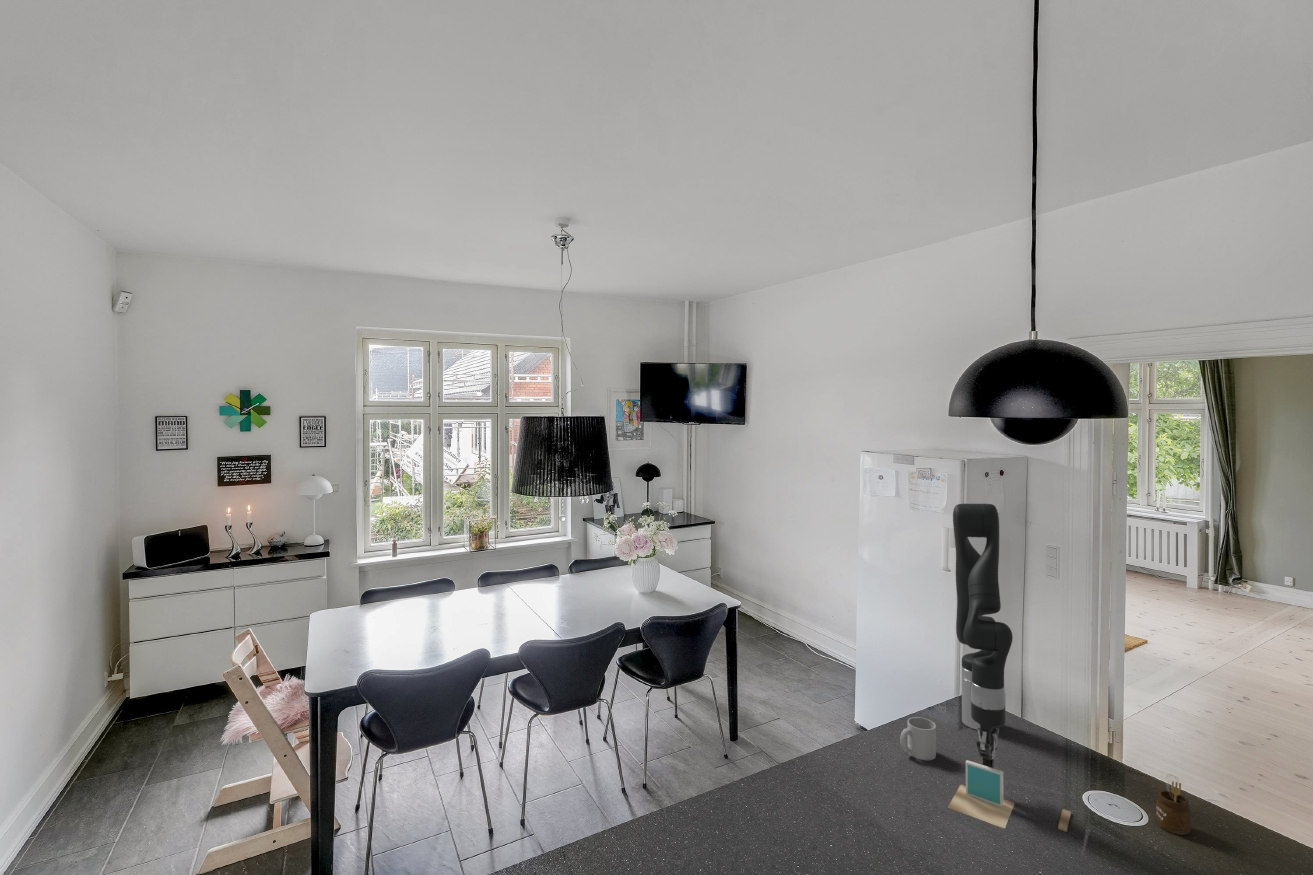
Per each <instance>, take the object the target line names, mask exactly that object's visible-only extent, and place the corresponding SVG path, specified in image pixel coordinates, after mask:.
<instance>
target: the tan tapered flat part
mask: <svg viewBox="0 0 1313 875" xmlns="http://www.w3.org/2000/svg"><path fill="white" fill-rule="evenodd" d="M1071 815H1072V811H1071V810H1068V809H1065V808H1062V810H1061V814H1060V818H1059V822H1058V826H1057V829H1058V830H1060V831H1063V832H1066V833H1067V832H1068V828H1069V824H1070V819H1071Z"/></svg>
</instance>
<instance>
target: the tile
mask: <svg viewBox="0 0 1313 875" xmlns="http://www.w3.org/2000/svg"><path fill="white" fill-rule="evenodd" d="M965 786H966V794H967V795H970V796H972V797H975V798H978V799H981V800H984V801H987V802H990V803H992V804H995V805H998V806H1001V807H1003V805H1004V770H1000V769H997V768H995V767H994V768H991V767H988V766H984V765H983V764H982V763H981V764H980V763H978V762H975V761H971V760H968V759H966V760H965Z"/></svg>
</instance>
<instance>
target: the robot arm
mask: <svg viewBox="0 0 1313 875" xmlns="http://www.w3.org/2000/svg"><path fill="white" fill-rule="evenodd" d="M952 524H953V535H954V544H955V587H956V601H957V602H956V621H955V622H956V623H955V624H956V625H955V628H956V629H955V631H956V633H955V634H956V638H957V640H958V642H959V643H961V644H962V645H966V646H968V647H969V648H970V649H973V650H978V651H975V652H970V653H967V654H964V655H962V658H961V722H962V723H963V724H964V725H965V726H966V727H968V728H970V729H973V730H976V731H977V736H978V740H977V742H976V747H977V749H978V750H977V751H978V754H979V757H980V758H982V765H984V766H988V767H991V768H994V769H995V756H996V752H997V748H998V747H997V746H998V740H999V738H998V737H999V732H1000V727H1003V726H1005V724H1006V718H1007V717H1006V715H1007V714H1006V692H1005V691H1006V690H1005V666H1006V663H1007V659H1008V655H1009V653H1010V650H1011V647H1012V644H1013V639H1014V637H1013V632H1012V629H1011V628H1010V626H1009V625H1008V624H1007V623H1005V622H1002V621H1001V622H1000V621H996V620H995V619H994V617H992V616H988V615H993V614H997V613H999V612H1000V611H1001V608H1002V605H1001V596H1000V595H1001V594H1000V585H999V584H1000V583H999V564H1000V563H999V560H1000V518H999V512H998V509H997V507H996V505H994V504H993V503H959V504H958V503H957V504H956V505H955V506H954V507H953V512H952ZM970 538H986V539H985V540H986V541H985V542H986V544H985V547H984V550H983V551H982V554H980V553H979V552H978V551H977V549H975V548H974V546H973V545H972V543H971V542H970V540H969V539H970Z"/></svg>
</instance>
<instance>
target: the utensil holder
mask: <svg viewBox="0 0 1313 875" xmlns="http://www.w3.org/2000/svg"><path fill="white" fill-rule="evenodd" d="M1168 776H1169V777H1168ZM1166 777H1168V778H1167V784H1166V785H1165V786H1166V790H1165V789H1164V790H1160V791H1159V792H1158V799H1157V800H1156V806H1155V807H1156V808H1155V810H1156V812H1155V814H1156V816H1155V818H1156V819H1155V820H1156V822H1157V824H1158V826H1159V827H1160V828H1161V829H1164V830H1165V831H1167V832H1168V833H1171V834H1173V835H1178V836H1186V835H1189V834H1190V833H1191V827H1192V824H1191V823H1192V817H1191V816H1192V815H1191V811H1190V808H1189V806H1190V805H1189V801H1188V798H1186V797H1185V796H1184V795H1183V794H1181V791H1182V783H1181V782H1180V781H1179V779H1178V777H1177V776H1176V775H1173V778H1175V779H1176V781H1174V780H1171V790H1170V788H1168V787H1169V785H1170V784H1169V782H1170V781H1169V779H1170V778H1171V777H1172V774H1171V773H1170V774H1167V775H1166Z"/></svg>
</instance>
